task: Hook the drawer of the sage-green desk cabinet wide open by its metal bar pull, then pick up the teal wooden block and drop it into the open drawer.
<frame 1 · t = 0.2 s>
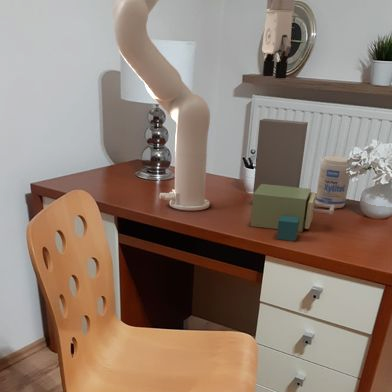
hand: (273, 77, 151), 37 cm above the table, tool pointing down, fingers open, 9 cm apart
block: (287, 237, 141), on the table
cabinet: (279, 222, 152), on the table
tall taupe upright panel: (274, 205, 169), on the table
supplement tub: (329, 206, 171), on the table
drawer: (298, 209, 149), point 5 cm above the table, slide at 0.5 cm
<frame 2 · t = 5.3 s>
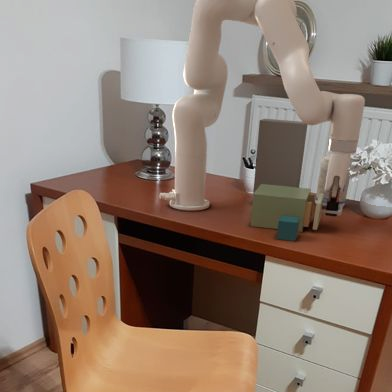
hand: (331, 215, 147), 4 cm above the table, tool pointing down, fingers closed
drawer: (306, 210, 148), point 5 cm above the table, slide at 2.7 cm, touching gripper
everything else where it was.
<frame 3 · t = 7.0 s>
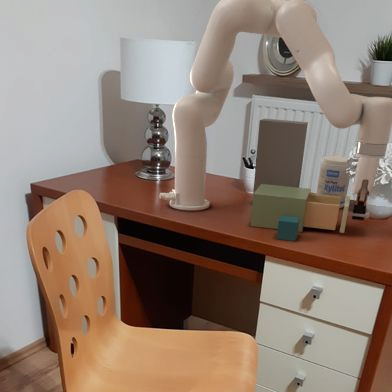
hand: (357, 218, 145), 4 cm above the table, tool pointing down, fingers closed
drawer: (333, 212, 146), point 5 cm above the table, slide at 10.1 cm, touching gripper
everything else where it was.
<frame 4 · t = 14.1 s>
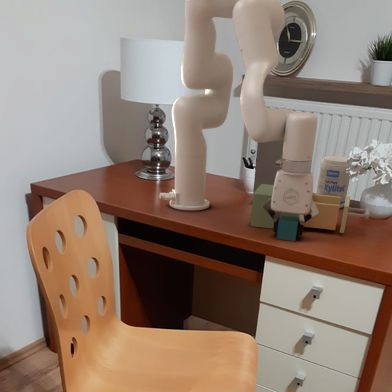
hand: (287, 235, 141), 0 cm above the table, tool pointing down, fingers closed on block, 5 cm apart
block: (287, 237, 141), on the table, touching gripper
drawer: (333, 212, 146), point 5 cm above the table, slide at 10.1 cm
everything else where it was.
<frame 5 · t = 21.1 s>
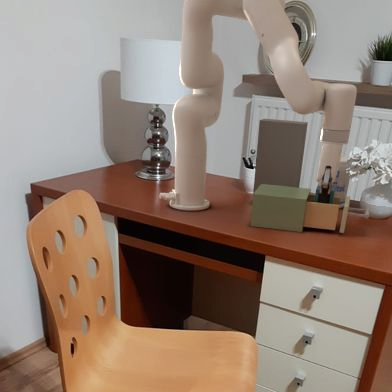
hand: (323, 204, 146), 7 cm above the table, tool pointing down, fingers closed on block, 5 cm apart
block: (323, 206, 146), point 6 cm above the table, touching gripper
everything else where it was.
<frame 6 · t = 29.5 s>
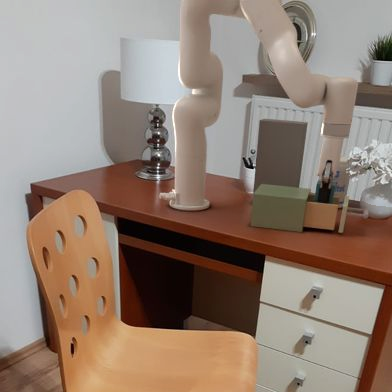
hand: (323, 199, 145), 8 cm above the table, tool pointing down, fingers closed on block, 5 cm apart
block: (323, 201, 146), point 8 cm above the table, touching gripper
everything else where it was.
when the fingers open (10 cm above the table, at t = 37.8 s): block drops 7 cm, resting on drawer.
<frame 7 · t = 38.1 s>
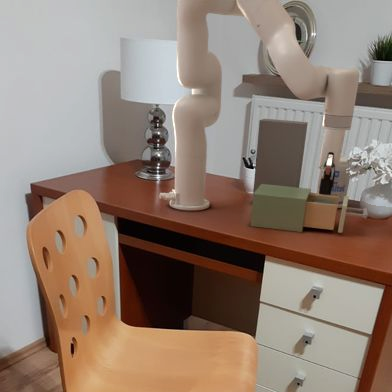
hand: (326, 190, 144), 11 cm above the table, tool pointing down, fingers open, 8 cm apart
block: (321, 220, 148), point 2 cm above the table, touching drawer
drawer: (331, 212, 147), point 5 cm above the table, slide at 9.6 cm, touching block
everything else where it was.
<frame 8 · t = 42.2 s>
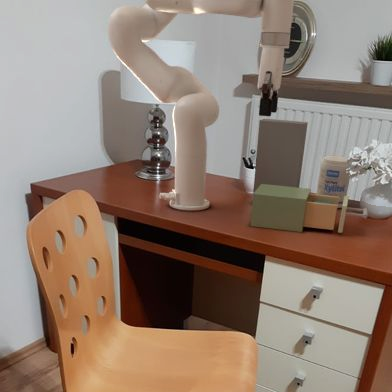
hand: (267, 114, 143), 28 cm above the table, tool pointing down, fingers open, 9 cm apart
nothing on the table moved.
at the end: drawer slide at 9.6 cm; block inside the target area in the drawer (0.7 cm from its centre), point 2.0 cm above the cabinet's base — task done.
